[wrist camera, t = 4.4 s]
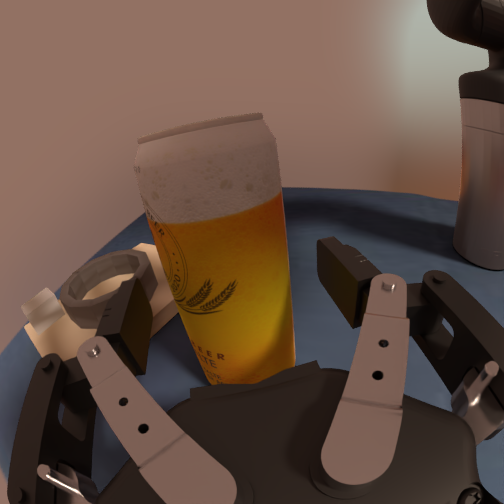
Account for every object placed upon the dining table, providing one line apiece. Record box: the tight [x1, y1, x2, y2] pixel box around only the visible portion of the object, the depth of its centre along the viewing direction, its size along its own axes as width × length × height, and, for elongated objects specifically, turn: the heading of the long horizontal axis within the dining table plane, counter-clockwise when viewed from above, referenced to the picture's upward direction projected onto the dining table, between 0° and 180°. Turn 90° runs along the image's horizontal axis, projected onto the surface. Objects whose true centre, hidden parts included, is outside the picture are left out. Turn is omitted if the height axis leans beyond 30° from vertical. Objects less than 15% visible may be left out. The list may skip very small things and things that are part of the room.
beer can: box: [134, 113, 295, 385], centre depth 14 cm, size 6×6×15 cm
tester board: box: [21, 243, 179, 361], centre depth 24 cm, size 20×14×4 cm
